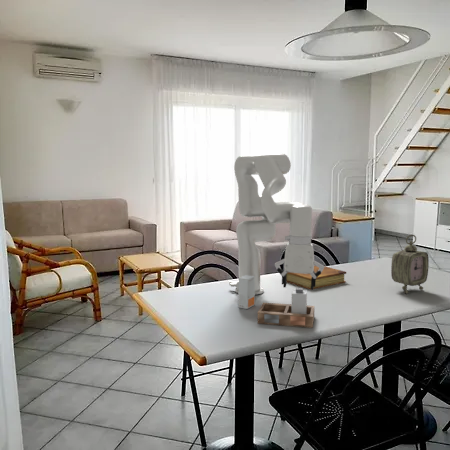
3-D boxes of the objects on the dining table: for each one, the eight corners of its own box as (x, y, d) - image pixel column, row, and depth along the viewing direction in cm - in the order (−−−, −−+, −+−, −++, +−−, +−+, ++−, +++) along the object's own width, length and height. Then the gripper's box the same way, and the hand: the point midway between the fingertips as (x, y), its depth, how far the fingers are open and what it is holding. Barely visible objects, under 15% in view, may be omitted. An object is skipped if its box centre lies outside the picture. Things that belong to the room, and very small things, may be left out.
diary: (317, 275, 226) (318, 264, 225) (346, 283, 210) (346, 271, 209) (283, 281, 214) (283, 270, 213) (310, 290, 198) (310, 278, 197)
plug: (291, 321, 156) (291, 290, 154) (292, 316, 161) (293, 286, 159) (305, 322, 155) (306, 291, 153) (306, 317, 159) (307, 287, 158)
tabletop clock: (406, 295, 188) (409, 237, 184) (388, 290, 195) (391, 234, 192) (427, 290, 195) (430, 234, 192) (409, 285, 203) (411, 232, 200)
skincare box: (247, 309, 171) (247, 279, 169) (238, 307, 173) (238, 277, 172) (255, 305, 176) (255, 276, 174) (245, 303, 178) (245, 274, 177)
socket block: (257, 323, 155) (257, 312, 154) (263, 312, 167) (263, 302, 166) (312, 328, 150) (312, 316, 150) (314, 316, 162) (314, 305, 162)
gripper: (273, 240, 153) (272, 288, 155) (325, 243, 148) (322, 292, 151) (276, 237, 160) (275, 282, 163) (325, 239, 156) (323, 286, 158)
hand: (298, 287), depth 157 cm, fingers open, 9 cm apart
